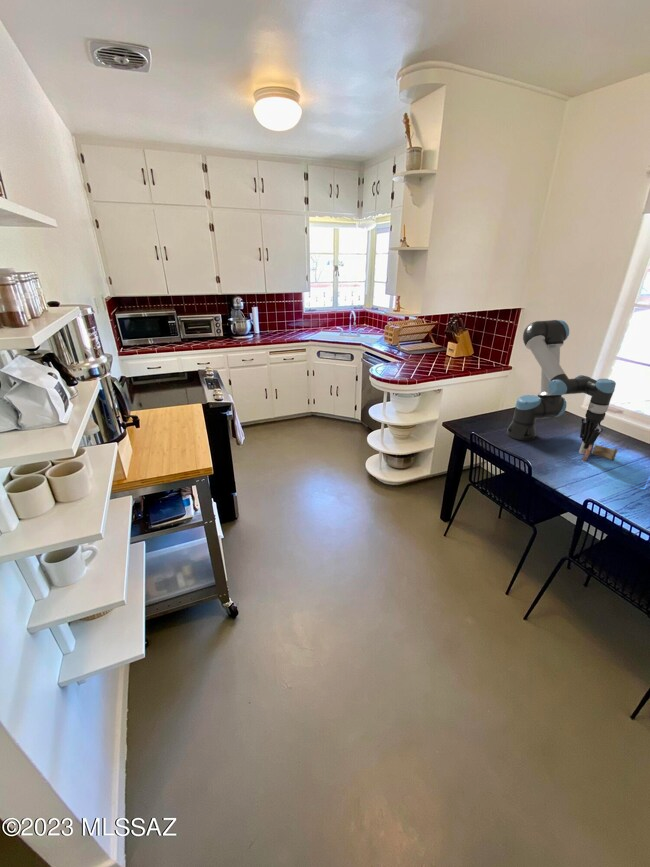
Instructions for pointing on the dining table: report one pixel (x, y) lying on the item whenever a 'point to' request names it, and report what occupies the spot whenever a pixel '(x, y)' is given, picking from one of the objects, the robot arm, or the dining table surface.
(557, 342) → the robot arm
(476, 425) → the dining table surface
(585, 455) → the hinged fence panel
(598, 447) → the fence post and fixed panel
